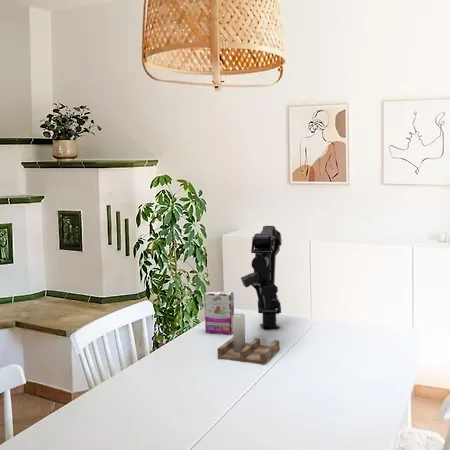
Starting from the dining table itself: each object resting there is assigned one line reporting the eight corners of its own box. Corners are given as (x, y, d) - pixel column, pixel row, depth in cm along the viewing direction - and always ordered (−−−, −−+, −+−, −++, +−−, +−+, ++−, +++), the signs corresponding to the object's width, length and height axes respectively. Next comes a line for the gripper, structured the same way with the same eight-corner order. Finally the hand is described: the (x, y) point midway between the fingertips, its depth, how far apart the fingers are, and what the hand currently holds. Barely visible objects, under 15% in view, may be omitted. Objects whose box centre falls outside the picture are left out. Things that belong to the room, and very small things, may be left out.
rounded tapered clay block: (231, 349, 222) (230, 314, 220) (241, 347, 224) (240, 312, 222) (237, 352, 218) (236, 317, 216) (247, 350, 220) (247, 315, 218)
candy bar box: (235, 331, 247) (234, 291, 244) (231, 334, 242) (230, 294, 240) (208, 329, 250) (207, 290, 248) (204, 333, 245) (203, 293, 243)
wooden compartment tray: (234, 344, 230) (234, 335, 230) (279, 349, 223) (279, 340, 223) (217, 358, 216) (217, 348, 215) (264, 364, 209) (264, 354, 208)
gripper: (237, 263, 240) (238, 301, 242) (248, 272, 222) (249, 314, 224) (264, 261, 242) (265, 299, 244) (277, 270, 224) (278, 311, 226)
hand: (263, 306), depth 234 cm, fingers open, 9 cm apart
